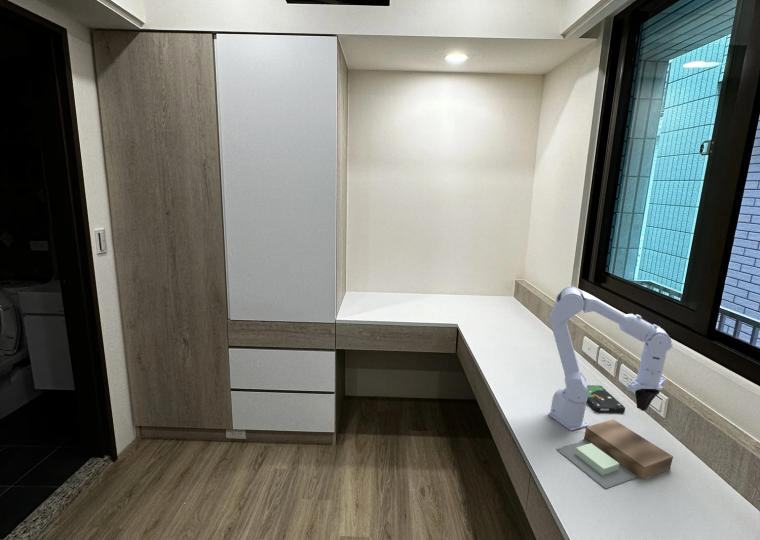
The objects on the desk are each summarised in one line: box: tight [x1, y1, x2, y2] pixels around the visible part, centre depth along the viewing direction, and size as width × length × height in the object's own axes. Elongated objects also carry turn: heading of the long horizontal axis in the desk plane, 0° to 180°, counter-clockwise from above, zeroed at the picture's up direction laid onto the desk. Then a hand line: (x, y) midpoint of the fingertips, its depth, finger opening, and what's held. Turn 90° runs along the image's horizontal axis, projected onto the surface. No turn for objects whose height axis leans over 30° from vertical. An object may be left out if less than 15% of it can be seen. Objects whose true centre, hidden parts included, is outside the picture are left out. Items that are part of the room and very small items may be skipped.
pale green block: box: [575, 443, 619, 475], centre depth 112 cm, size 9×6×2 cm, turn 23°
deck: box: [583, 419, 674, 480], centre depth 117 cm, size 18×12×4 cm, turn 23°
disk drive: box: [586, 384, 626, 414], centre depth 144 cm, size 10×3×15 cm
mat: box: [556, 439, 638, 490], centre depth 112 cm, size 16×12×1 cm
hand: (641, 408), depth 122 cm, fingers closed
